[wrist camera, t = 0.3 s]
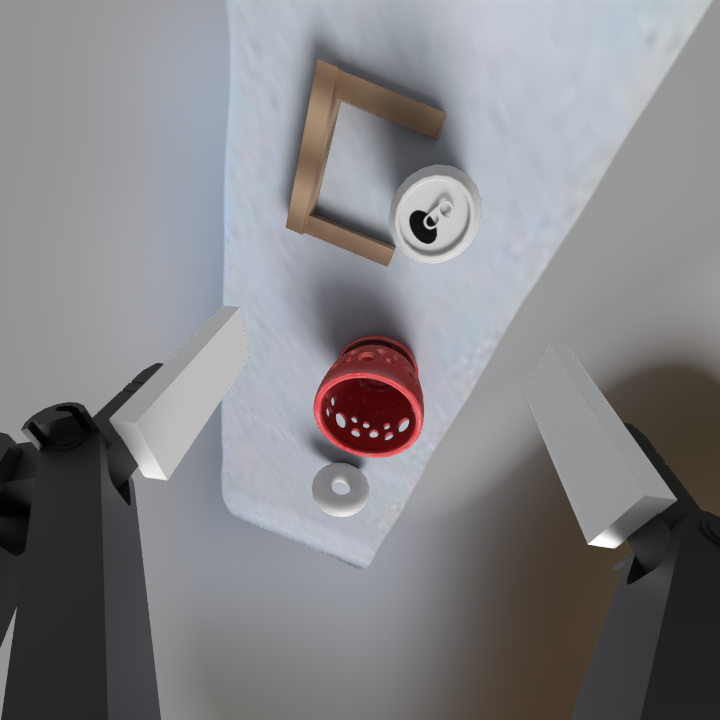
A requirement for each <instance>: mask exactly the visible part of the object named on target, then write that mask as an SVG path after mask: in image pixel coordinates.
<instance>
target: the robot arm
mask: <svg viewBox="0 0 720 720" xmlns="http://www.w3.org/2000/svg"><path fill="white" fill-rule="evenodd" d="M248 359H249V354H248V348H247V343H246V338H245V332H244V327H243V322H242V316H241V311H240V307H232V306H222V307H221V308H220V309H219V310H218V311H217V312H216V313H215V314H214V315H213V316H212V317H211V318H210V319H209V320H208V321H207V322H206V323H205V324H204V325H203V326H202V327H201V328H200V329H199V330H198V331H197V332H196V333H195V334H194V335H193V336H192V337H191V338H190V339H189V340H188V341H187V342H186V343H185V344H184V345H183V346H182V347H181V348H180V349H179V350H178V351H177V352H176V353H175V354H174V355H173V356H172V357H171V358H170V359H169V360H168V361H167V362H166V363H165V364H162V363H156V364H154V365H152V366H150V367H149V368H147V369H145V370H143V371H142V372H141V373H140V374H139V375H137V376H136V377H135V378H134V379H133V380H132V383H129V384H128V385H127V386H126V387H125V388H124V389H123V391H121V392H120V393H118V394H117V395H116V396H115V397H114V398H113V399H112V400H111V401H110V402H109V403H108V404H107V405H106V406H105V407H104V408H103V409H101V410H100V411H99V412H98V413H97V414H96V415H95V416H94V417H93V418H92V417H91V416H90V414H89V413H88V411H87V410H86V408H85V407H84V406H83V405H81V404H79V403H72V402H67V403H62V404H56V405H54V406H51V407H48V408H46V409H44V410H42V411H40V412H38V413H37V414H35V415H33V416H32V417H31V418H30V419H29V420H28V421H27V422H25V424H24V426H23V428H22V430H21V431H22V432H23V433H24V434H25V435H26V436H27V438H28V439H29V440H30V441H31V442H27V443H19V444H17V443H16V442H15V441H14V440H13V439H12V438H11V437H10V436H9V435H8V434H4V433H0V647H1V645H2V642H3V640H4V637H5V635H6V632H7V630H8V627H9V624H10V622H11V619H12V617H13V614H14V612H15V609H16V607H17V612H16V618H15V625H14V632H13V640H12V647H11V654H10V661H9V668H8V675H7V682H6V689H5V696H4V703H3V710H2V718H1V720H161V717H160V707H159V698H158V690H157V681H156V672H155V663H154V655H153V646H152V638H151V628H150V620H149V611H148V602H147V593H146V585H145V576H144V567H143V558H142V550H141V542H140V532H139V523H138V515H137V506H136V497H135V488H134V482H133V480H132V477H131V475H132V473H133V472H134V471H135V470H136V468H137V467H139V469H140V470H141V472H142V473H143V475H144V477H149V478H156V479H162V480H168V479H169V477H170V475H171V474H172V472H173V471H174V470H175V468H176V467H177V465H178V464H179V462H180V461H181V459H182V458H183V456H184V455H185V453H186V452H187V450H188V448H189V447H190V446H191V444H192V443H193V441H194V440H195V438H196V437H197V435H198V434H199V432H200V431H201V429H202V428H203V426H204V425H205V423H206V422H207V420H208V419H209V417H210V416H211V414H212V413H213V411H214V410H215V408H216V407H217V405H218V404H219V402H220V401H221V399H222V398H223V396H224V395H225V393H226V392H227V390H228V389H229V387H230V386H231V384H232V383H233V381H234V380H235V378H236V377H237V376H238V374H239V373H240V371H241V370H242V368H243V367H244V365H245V364H246V362H247V361H248ZM524 395H525V397H526V399H527V402H528V404H529V406H530V409H531V411H532V414H533V416H534V418H535V420H536V423H537V425H538V428H539V430H540V432H541V435H542V437H543V439H544V442H545V444H546V446H547V448H548V451H549V453H550V456H551V458H552V461H553V463H554V465H555V468H556V470H557V472H558V475H559V477H560V479H561V482H562V484H563V486H564V489H565V491H566V494H567V496H568V498H569V500H570V503H571V505H572V508H573V510H574V512H575V515H576V517H577V519H578V522H579V524H580V526H581V529H582V531H583V533H584V536H585V538H586V541H587V543H588V544H589V545H595V546H602V547H609V548H616V547H617V546H618V545H620V544H621V543H622V542H624V541H625V540H626V539H627V540H628V542H629V544H630V545H631V547H632V549H633V552H631V553H630V554H629V555H627V556H626V557H624V558H623V559H622V560H620V561H619V562H617V563H616V564H615V565H614V566H613V567H612V568H613V569H614V570H615V571H617V570H619V569H620V568H622V567H623V570H622V573H621V576H620V578H619V581H618V584H617V587H616V590H615V593H614V596H613V599H612V602H611V604H610V607H609V610H608V613H607V616H606V619H605V622H604V625H603V628H602V630H601V633H600V636H599V639H598V642H597V645H596V648H595V651H594V653H593V657H592V660H591V662H590V665H589V668H588V671H587V674H586V677H585V679H584V683H583V685H582V688H581V691H580V694H579V697H578V700H577V703H576V705H575V708H574V711H573V714H572V717H571V720H720V517H718V516H716V515H714V514H712V513H710V512H707V511H703V510H701V509H700V507H699V506H698V505H697V503H696V502H695V501H694V500H693V498H692V497H691V495H690V494H689V493H688V491H687V490H686V489H685V488H684V486H683V485H682V484H681V482H680V481H679V480H678V478H677V477H676V476H675V474H674V473H673V472H672V470H671V469H670V468H669V466H668V465H665V461H664V460H663V458H662V457H661V456H660V454H659V453H656V449H655V448H654V446H653V445H652V444H651V443H650V441H649V440H648V438H647V437H646V436H645V435H644V434H642V433H641V432H640V431H639V430H638V429H636V428H635V427H634V426H633V425H632V424H629V423H622V421H621V420H620V418H619V417H618V416H617V414H616V413H615V411H614V410H613V409H612V407H611V406H610V404H609V403H608V402H607V400H606V399H605V397H604V396H603V394H602V393H601V392H600V390H599V389H598V388H597V386H596V385H595V383H594V382H593V380H592V379H591V378H590V376H589V375H588V373H587V372H586V371H585V369H584V368H583V366H582V365H581V364H580V362H579V361H578V359H577V358H576V356H575V355H574V354H573V352H572V351H571V349H570V348H569V347H568V346H562V345H554V344H549V345H548V347H547V349H546V351H545V353H544V355H543V357H542V359H541V360H540V362H539V364H538V366H537V368H536V370H535V372H534V374H533V376H532V378H531V380H530V382H529V384H528V385H527V387H526V389H525V391H524Z"/></svg>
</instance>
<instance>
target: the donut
mask: <svg viewBox="0 0 720 720" xmlns="http://www.w3.org/2000/svg"><path fill="white" fill-rule="evenodd" d="M336 482H343V483H345V484H347V485H348V486H349V487H350V492H349V493H348V494H345V495H340V494H337V493H335V492H334V491H333V490H332V488H331V487H332V485H333V484H334V483H336ZM312 493H313V498H314V500H315V502H316V504H317V505H318V506H319V507H320V508H321V509H322V510H323V511H324V512H326V513H328V514H330V515H332V516H337V517H346V516H351V515H353V514H355V513H357V512H359V511H360V510H361V509H362V508H363V507H364V506H365V504H366V502H367V499H368V497H369V485H368V482H367V479H366V477H365V476H364V474H363V473H362V472H361V471H360V470H359V469H357V468H356V467H354V466H352V465H350V464H346V463H332V464H330V465H327V466H325V467H324V468H322V469H321V470H320V471H319V472H318V473H317V475H316V476H315V478H314V480H313V485H312Z"/></svg>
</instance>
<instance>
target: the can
mask: <svg viewBox="0 0 720 720" xmlns="http://www.w3.org/2000/svg"><path fill="white" fill-rule="evenodd" d="M481 218H482V199H481V197H480V194H479V191H478V189H477V186H476V184H475V183H474V182H473V181H472V180H471V178H470V177H469V176H468V175H467V174H466V173H465V172H463V171H461V170H459V169H457V168H455V167H453V166H448V165H439V164H436V165H432V166H428V167H424V168H421V169H419V170H418V171H416V172H415V173H413V174H412V175H410V176H409V177H407V178H406V180H405V181H404V182H403V183H402V184H401V186H400V187H399V188H398V189H397V191H396V194H395V196H394V198H393V200H392V203H391V207H390V215H389V223H390V230H391V234H392V236H393V238H394V241H395V243H396V245H397V246H398V247H399V248H400V249H401V251H402V252H403V253H404V254H405V255H406V256H408V257H410V258H412V259H414V260H416V261H418V262H423V263H430V264H433V263H439V262H445V261H447V260H449V259H451V258H453V257H455V256H457V255H459V254H460V253H461V252H462V251H463V250H464V249H465V248H467V247H468V246H469V245H470V243H471V242H472V240H473V238H474V237H475V235H476V233H477V232H478V229H479V225H480V222H481Z"/></svg>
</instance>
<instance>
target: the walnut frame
mask: <svg viewBox="0 0 720 720" xmlns="http://www.w3.org/2000/svg"><path fill="white" fill-rule="evenodd" d="M341 101H342V102H344V103H347V104H349V105H351V106H354V107H356V108H359V109H361V110H364V111H366V112H369V113H371V114H374V115H376V116H379V117H381V118H384V119H386V120H388V121H391V122H393V123H396V124H398V125H401V126H403V127H406V128H408V129H411V130H413V131H416V132H418V133H420V134H423V135H425V136H428V137H430V138H433V139H435V140H437V139H438V137H439V134H440V132H441V129H442V127H443V124H444V121H445V119H446V116H447V113H445V112H443V111H440V110H438V109H435V108H433V107H430V106H428V105H425V104H423V103H420V102H418V101H415V100H413V99H411V98H408V97H406V96H403V95H401V94H398V93H396V92H393V91H391V90H388V89H386V88H383V87H381V86H378V85H376V84H373V83H371V82H368V81H366V80H364V79H361V78H359V77H356V76H354V75H351V74H349V73H346V72H344V71H341V70H340V69H339V68H338V67H336V66H334V65H331V64H329V63H326V62H324V61H321V60H319V59H317V64H316V70H315V75H314V80H313V86H312V91H311V96H310V101H309V107H308V112H307V117H306V123H305V128H304V133H303V139H302V144H301V149H300V154H299V160H298V165H297V170H296V176H295V181H294V186H293V192H292V197H291V202H290V207H289V213H288V218H287V223H286V228H288V229H290V230H293V231H295V232H298V233H300V234H303V233H307V234H309V235H312V236H314V237H316V238H319V239H321V240H324V241H326V242H329V243H331V244H333V245H336V246H338V247H341V248H343V249H346V250H348V251H350V252H353V253H355V254H358V255H360V256H363V257H365V258H367V259H370V260H372V261H375V262H377V263H380V264H382V265H384V266H388V265H389V263H390V260H391V258H392V255H393V253H394V250H395V246H393V245H390V244H388V243H385V242H383V241H381V240H378V239H376V238H373V237H371V236H368V235H366V234H363V233H361V232H359V231H356V230H354V229H351V228H349V227H346V226H344V225H341V224H339V223H337V222H334V221H332V220H329V219H327V218H324V217H322V216H320V215H317V214H315V210H316V205H317V201H318V197H319V193H320V188H321V184H322V180H323V175H324V171H325V167H326V162H327V158H328V154H329V150H330V145H331V141H332V137H333V132H334V128H335V124H336V119H337V115H338V111H339V106H340V102H341Z"/></svg>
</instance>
